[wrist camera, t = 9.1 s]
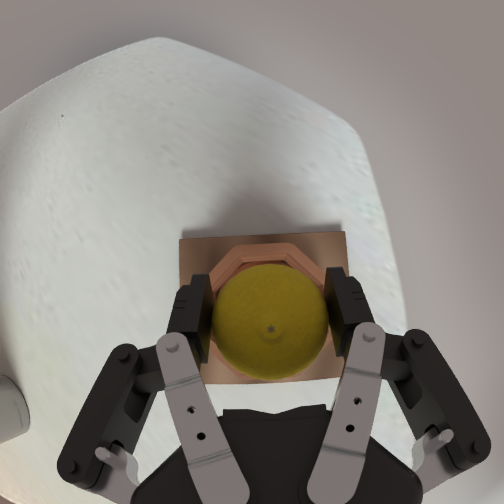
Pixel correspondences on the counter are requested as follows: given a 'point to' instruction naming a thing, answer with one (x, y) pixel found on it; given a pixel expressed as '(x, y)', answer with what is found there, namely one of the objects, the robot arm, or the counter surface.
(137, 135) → the counter surface
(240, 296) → the lemon
